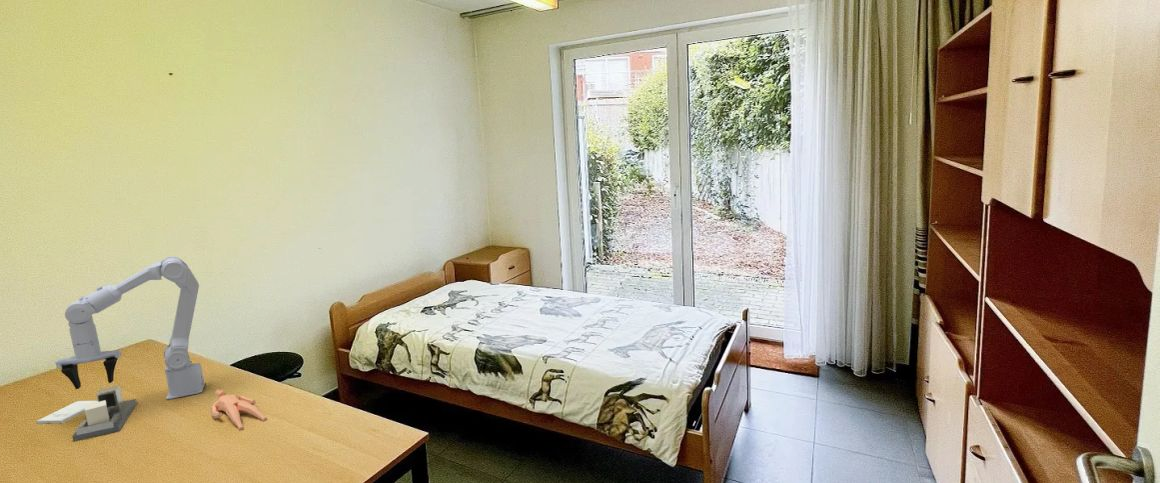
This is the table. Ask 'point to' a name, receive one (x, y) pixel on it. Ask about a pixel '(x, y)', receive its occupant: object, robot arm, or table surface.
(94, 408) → the white cube grey lid
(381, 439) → the table surface
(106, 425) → the grey metal base
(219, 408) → the male figurine
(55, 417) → the external hard drive
